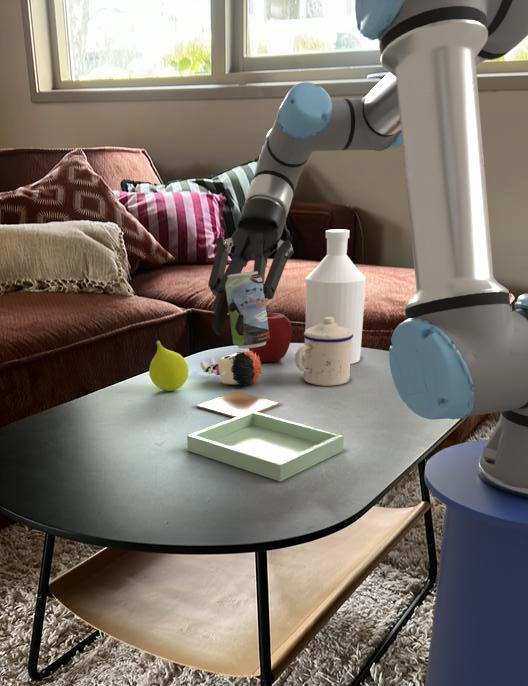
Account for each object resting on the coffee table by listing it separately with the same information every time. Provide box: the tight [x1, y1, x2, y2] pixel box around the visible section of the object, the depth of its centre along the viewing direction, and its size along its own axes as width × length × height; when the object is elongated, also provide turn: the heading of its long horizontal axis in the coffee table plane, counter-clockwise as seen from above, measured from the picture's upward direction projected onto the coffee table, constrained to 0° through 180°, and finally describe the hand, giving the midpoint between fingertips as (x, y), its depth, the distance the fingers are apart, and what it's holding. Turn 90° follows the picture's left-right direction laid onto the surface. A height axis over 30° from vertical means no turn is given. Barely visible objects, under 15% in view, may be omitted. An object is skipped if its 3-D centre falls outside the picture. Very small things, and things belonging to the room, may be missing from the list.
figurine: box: [200, 350, 262, 387], centre depth 143 cm, size 7×6×12 cm
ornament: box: [148, 334, 189, 392], centre depth 138 cm, size 7×7×10 cm
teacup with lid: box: [294, 317, 353, 387], centre depth 141 cm, size 12×9×12 cm
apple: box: [248, 312, 293, 363], centre depth 155 cm, size 10×10×10 cm
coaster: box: [196, 391, 280, 418], centre depth 131 cm, size 10×10×1 cm
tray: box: [186, 411, 345, 482], centre depth 111 cm, size 18×15×2 cm
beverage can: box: [225, 271, 270, 350], centre depth 123 cm, size 6×7×12 cm
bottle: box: [305, 229, 367, 365], centre depth 153 cm, size 12×12×25 cm
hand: (227, 331), depth 122 cm, fingers closed on beverage can, 3 cm apart
